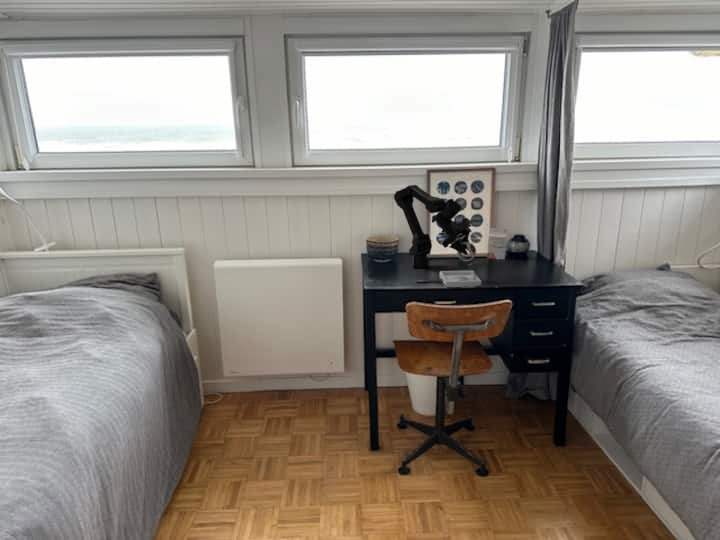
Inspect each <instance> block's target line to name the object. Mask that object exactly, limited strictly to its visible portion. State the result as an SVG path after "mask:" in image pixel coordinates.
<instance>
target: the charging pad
mask: <svg viewBox="0 0 720 540" xmlns="http://www.w3.org/2000/svg"><path fill="white" fill-rule="evenodd" d="M441 279H442V280H441ZM416 282H431V283H444V284H445V285H446V286H472V285H481V286H482V280H481V279H480V278H479V276H478V275H477V274H476V272H475V271H474V270H439V279H431V280H430V279H427V280H424V279H423V280H420V279H419V280H416V279H415V283H416ZM444 284H443V285H444ZM445 285H444V286H445Z"/></svg>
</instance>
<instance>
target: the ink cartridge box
mask: <svg viewBox="0 0 720 540" xmlns="http://www.w3.org/2000/svg"><path fill="white" fill-rule="evenodd" d="M507 232H508V229H507V228H500V227H498V228H497V227H490V229H489V235H488V241H487V253H486V259H490V260H491V259H492V260H500V259H502V260H503V259H504V260H505V258H506V252H507V251H506V250H507V241H508V240H507V239H508V238H507V237H508V233H507ZM504 260H503V261H504Z"/></svg>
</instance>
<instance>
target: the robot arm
mask: <svg viewBox="0 0 720 540" xmlns="http://www.w3.org/2000/svg"><path fill="white" fill-rule="evenodd" d="M414 198H415V199H416V200H418V201H419V202H420V203H422V204H423V205H424V206H425V207H424V208H425V209H426V211H428V212H429V213H430V214H433V215H432V217H431V223H435V222H436V223H437V225H438V226H439V227H440V229H442V230H441V233H442V234H445V235H446V236H447V237H446V238H445V239H443V241H442V242H441V245H442V246H443V248H444V249H446V248H448V247H449V249H453V250H455V251H456V252H457V251H459V252H461V253H462V255H465V256H467V255H468V254H469V252H468V249H467V245H466V244H462V243H463V242H469V243H471V242H470V240H469V236H470V234H471V233H472V232H473V231H472V229H471V227H472V224H471V223H472V221H471V220H470V219H469V218H468V217H464V218H462V220H461V221H460V222H458V221H456V220H455V221H453V218H455V217H456V216H457V214H459V212H461V211H462V207H461V204H459V203H458V202H457V201H456V200H454V199H453V198H449V199H448V200H447V201H445V199H443V198H441V197H437V196H433V195H431V194H429V193H428V192H427V191H425V190H423V188H420V187H419V186H418V185H417V184H410V185H408V186H405V187H404V188H401V189H399V190H397V191H395V193H394V194H393V199H394V201H395V203H396V206H398V207H399V208H400V209H401V210H402V211H403V214H404V217H405V219H406V222H407V224H408V226H409V229H410V232H411V234H412V240H411V244H412V246H411V247H409V249H408V252H409V255H411V256H412V263H411V266H412V269H414V270H415V269H428V266H429V265H428V264H429V257H428V255H430V254H431V250H432V248H433V244H432V240H431V237H430V235H429V233H426V234H425V233H424V231H423V229H422V226H421V223H420V222H419V221H420V220H419V219H418V217H417V213H416V211H415V208H414V206H413V202H414ZM435 213H437V214H435Z"/></svg>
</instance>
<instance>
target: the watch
mask: <svg viewBox="0 0 720 540" xmlns="http://www.w3.org/2000/svg"><path fill="white" fill-rule="evenodd" d="M469 242H470V241H469ZM469 242H463V243H462V244H466V245H467V249H468V250H467V249H466V250H467V252H468V254H470V256H471V258H465V257H463V255H464V254H463V253H461V252H459V251H457V250H456V253H457V256H458V258H459V259H460V260H458V261H457V268H458V269H461V270H465V271H469V269H471V268H473V262H474V258H475V256H476V254H477V249H476V246H475V245H474V244H473V243H471V242H470V243H469Z"/></svg>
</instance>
